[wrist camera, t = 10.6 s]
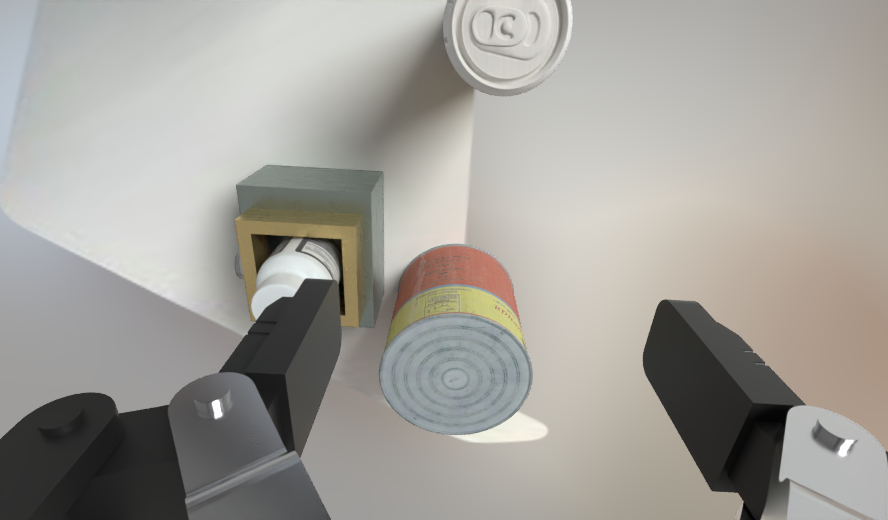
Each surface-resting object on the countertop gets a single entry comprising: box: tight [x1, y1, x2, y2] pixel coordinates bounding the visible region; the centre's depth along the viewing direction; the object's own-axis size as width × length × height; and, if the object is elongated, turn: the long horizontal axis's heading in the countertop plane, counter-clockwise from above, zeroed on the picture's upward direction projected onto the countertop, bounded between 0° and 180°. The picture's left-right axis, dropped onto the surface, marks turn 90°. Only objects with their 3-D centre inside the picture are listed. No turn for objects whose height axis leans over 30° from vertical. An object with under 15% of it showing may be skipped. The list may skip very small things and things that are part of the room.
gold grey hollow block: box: [235, 165, 384, 328], centre depth 37 cm, size 12×12×8 cm
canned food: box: [379, 244, 533, 435], centre depth 38 cm, size 11×11×12 cm
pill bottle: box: [251, 236, 343, 320], centre depth 33 cm, size 5×5×10 cm
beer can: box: [443, 0, 573, 96], centre depth 27 cm, size 6×6×15 cm
